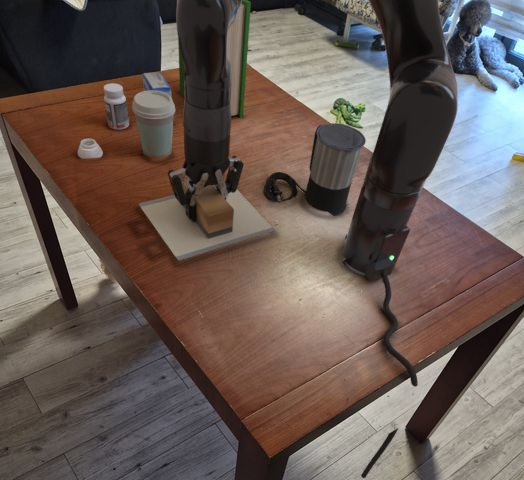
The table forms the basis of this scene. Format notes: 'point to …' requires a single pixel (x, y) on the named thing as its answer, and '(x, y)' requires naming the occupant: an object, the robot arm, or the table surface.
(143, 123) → the coffee cup
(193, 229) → the board
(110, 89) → the pill bottle
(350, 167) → the milk frother
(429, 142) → the robot arm
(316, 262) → the table surface
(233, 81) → the hardback book
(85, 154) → the white jar
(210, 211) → the eraser
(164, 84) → the medicine box
